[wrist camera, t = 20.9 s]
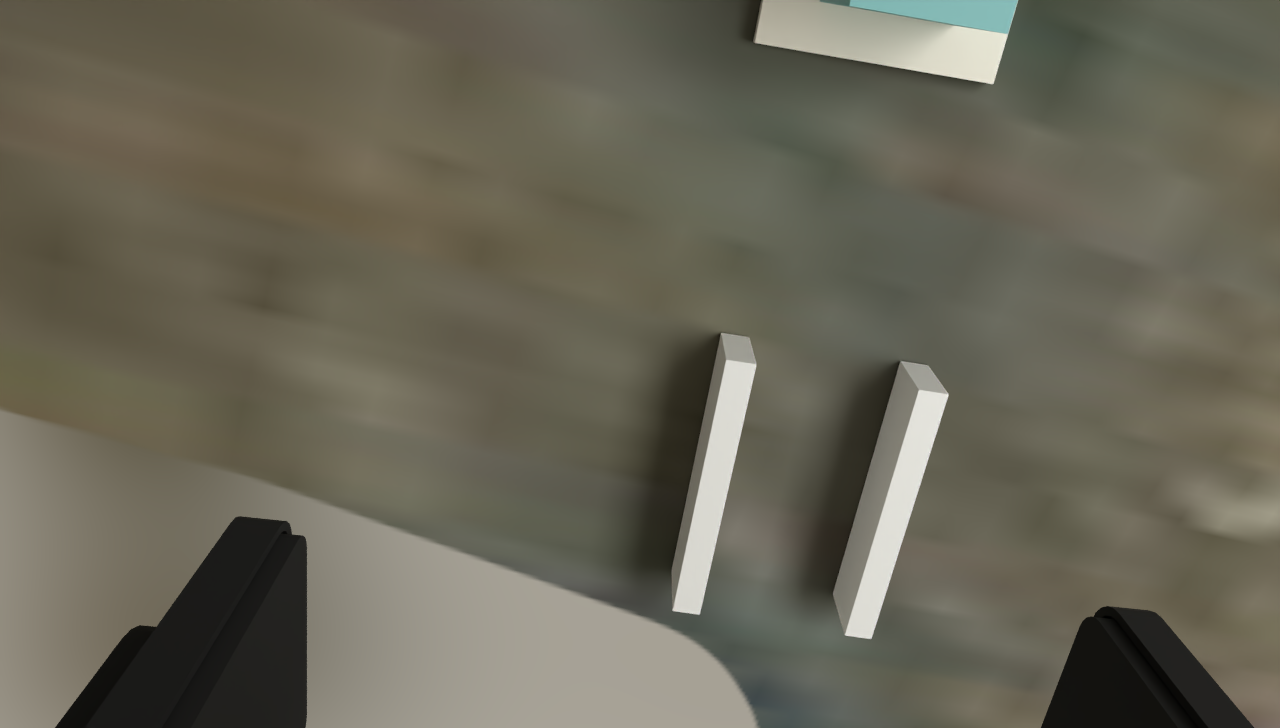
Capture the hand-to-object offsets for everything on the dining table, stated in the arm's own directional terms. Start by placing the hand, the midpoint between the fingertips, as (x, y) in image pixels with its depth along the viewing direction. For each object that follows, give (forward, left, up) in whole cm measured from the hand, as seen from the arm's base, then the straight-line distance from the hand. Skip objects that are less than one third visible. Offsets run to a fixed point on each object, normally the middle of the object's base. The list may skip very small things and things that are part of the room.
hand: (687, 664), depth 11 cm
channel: (+8, -12, -28) cm, 31 cm away
